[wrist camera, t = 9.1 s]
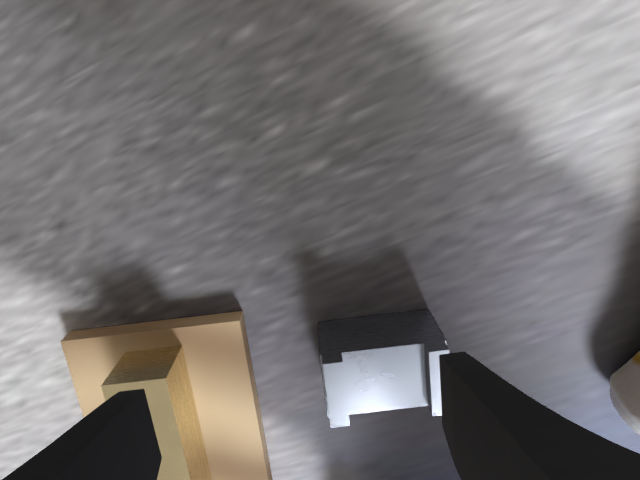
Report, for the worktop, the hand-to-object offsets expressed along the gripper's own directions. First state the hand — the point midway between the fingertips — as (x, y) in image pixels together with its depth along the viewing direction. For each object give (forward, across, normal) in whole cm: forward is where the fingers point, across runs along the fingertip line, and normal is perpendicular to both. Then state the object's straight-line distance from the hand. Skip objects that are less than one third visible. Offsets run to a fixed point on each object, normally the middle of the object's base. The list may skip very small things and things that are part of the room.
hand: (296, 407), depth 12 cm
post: (+10, -3, +4) cm, 12 cm away
